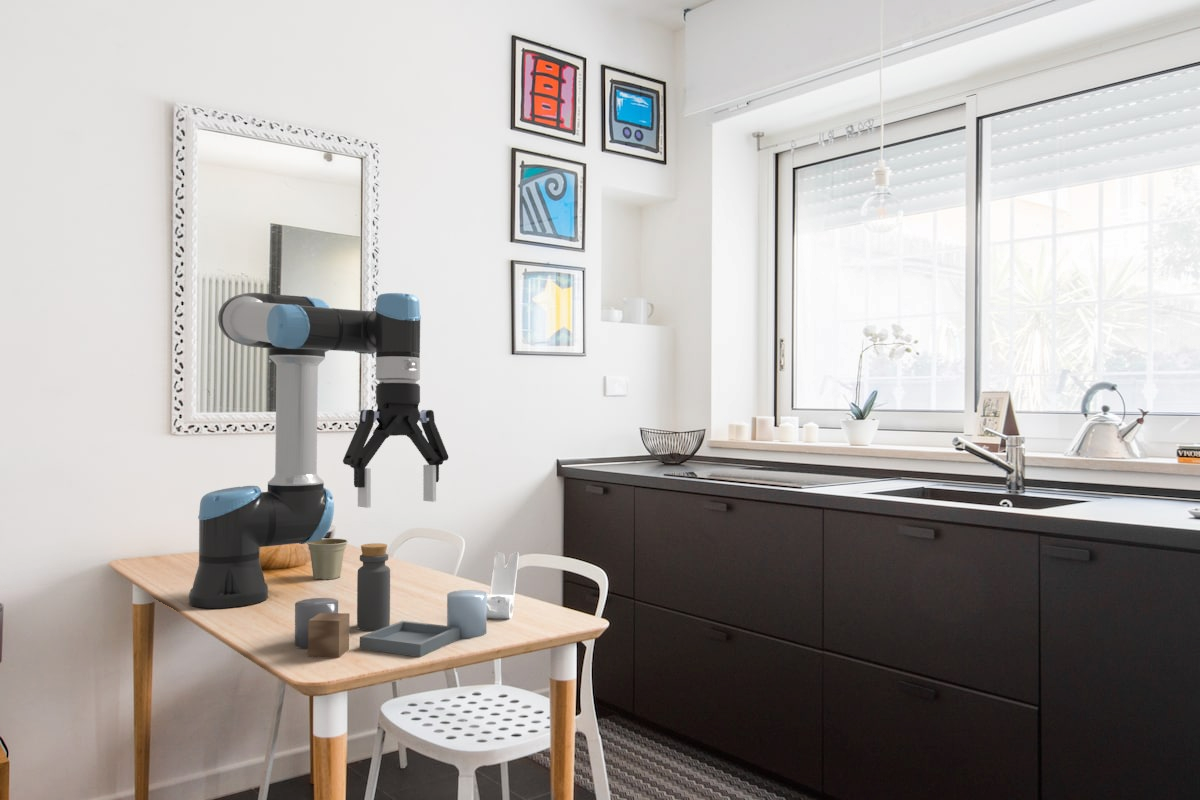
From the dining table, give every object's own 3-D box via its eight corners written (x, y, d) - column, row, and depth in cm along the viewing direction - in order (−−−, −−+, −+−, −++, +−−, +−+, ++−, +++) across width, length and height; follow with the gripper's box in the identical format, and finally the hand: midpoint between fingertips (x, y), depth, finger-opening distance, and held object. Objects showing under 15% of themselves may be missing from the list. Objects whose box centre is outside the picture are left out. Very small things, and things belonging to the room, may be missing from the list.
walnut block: (308, 657, 138) (308, 620, 138) (319, 649, 143) (319, 613, 143) (338, 658, 138) (339, 620, 138) (349, 649, 143) (349, 613, 143)
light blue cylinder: (439, 635, 152) (439, 596, 152) (460, 626, 159) (460, 588, 159) (473, 639, 149) (473, 599, 149) (493, 630, 156) (493, 591, 156)
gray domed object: (285, 646, 145) (286, 604, 145) (314, 636, 151) (314, 596, 151) (318, 650, 142) (319, 608, 142) (346, 640, 149) (346, 600, 149)
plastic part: (470, 619, 164) (470, 559, 164) (483, 607, 174) (483, 550, 174) (508, 620, 163) (508, 559, 164) (519, 608, 173) (519, 550, 173)
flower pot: (356, 576, 206) (356, 540, 206) (324, 583, 198) (324, 545, 198) (329, 572, 211) (330, 537, 211) (297, 578, 203) (298, 542, 203)
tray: (359, 648, 143) (359, 636, 143) (402, 631, 154) (402, 620, 154) (420, 656, 139) (420, 644, 139) (459, 638, 150) (459, 627, 150)
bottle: (372, 632, 154) (373, 548, 154) (350, 627, 157) (350, 545, 157) (396, 625, 159) (397, 544, 159) (374, 621, 162) (374, 541, 162)
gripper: (346, 379, 139) (346, 511, 138) (467, 383, 157) (467, 500, 157) (322, 380, 144) (321, 508, 143) (441, 385, 162) (441, 497, 162)
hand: (398, 504), depth 150 cm, fingers open, 13 cm apart
